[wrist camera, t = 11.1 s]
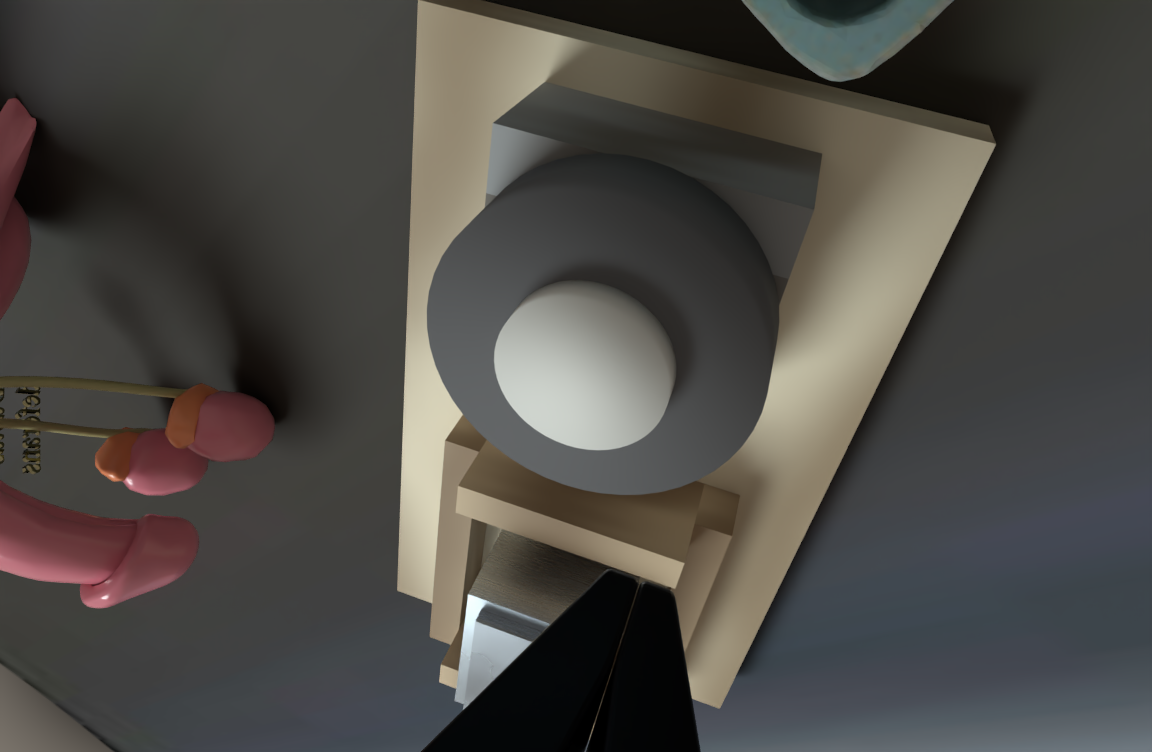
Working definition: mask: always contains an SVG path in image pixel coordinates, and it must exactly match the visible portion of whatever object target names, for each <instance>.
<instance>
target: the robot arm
mask: <svg viewBox="0 0 1152 752" xmlns="http://www.w3.org/2000/svg"><path fill="white" fill-rule="evenodd" d="M638 586H639V588H638ZM637 589H638V591H637ZM636 592H637V594H636ZM635 595H636V597H635ZM634 598H635V600H634ZM633 602H634V603H633ZM632 605H633V606H632ZM631 608H632V609H631ZM630 611H631V612H630ZM629 614H630V616H629ZM628 617H629V619H628ZM627 620H628V622H627ZM626 623H627V625H626ZM625 626H626V628H625ZM624 630H625V631H624ZM623 633H624V634H623ZM622 636H623V637H622ZM621 639H622V640H621ZM620 642H621V644H620ZM619 645H620V647H619ZM618 648H619V650H618ZM617 651H618V653H617ZM616 654H617V656H616ZM615 658H616V659H615ZM614 661H615V662H614ZM613 664H614V665H613ZM612 667H613V668H612ZM611 670H612V672H611ZM610 673H611V675H610ZM609 676H610V678H609ZM608 679H609V681H608ZM607 682H608V684H607ZM606 686H607V687H606ZM605 689H606V690H605ZM604 692H605V693H604ZM603 695H604V696H603ZM602 698H603V699H602ZM601 701H602V703H601ZM600 704H601V706H600ZM599 707H600V709H599ZM598 710H599V712H598ZM597 713H598V715H597ZM596 717H597V718H596ZM595 720H596V721H595ZM594 723H595V724H594ZM593 726H594V727H593ZM592 729H593V731H592ZM591 732H592V734H591ZM590 735H591V737H590ZM589 738H590V740H589ZM588 741H589V744H588ZM587 744H588V747H587ZM586 747H587V751H586V752H701V751H700V745H699V739H698V733H697V726H696V720H695V714H694V708H693V702H692V696H691V690H690V683H689V677H688V671H687V665H686V659H685V653H684V647H683V640H682V634H681V628H680V622H679V616H678V610H677V604H676V598H675V595H674V593H673V592H672V591H671V590H670V589H667V588H664V587H662V586H659V585H656V584H653V583H650V582H648V581H644V582H642V583H640V585H639V581H638V580H637V578H636V577H634V576H631V575H628V574H625V573H623V572H620V571H617V570H614V569H607V570H605V571H604V572H603V573H602V574H601V575H600V576H599V577H598V578H597V579H596V580H595V581H594V582H593V583H591V584H590V585H589V586H588V587H587V588H586V589H585V590H584V591H583V592H582V593H581V594H580V595H579V596H578V597H577V598H576V599H575V600H574V601H573V602H572V603H571V604H570V605H569V606H568V607H567V608H566V609H565V610H564V611H563V612H562V613H561V614H560V615H559V616H558V617H557V618H556V619H555V620H554V621H553V622H552V623H551V624H550V625H549V626H548V627H547V628H546V629H545V630H544V631H543V632H542V633H541V634H540V635H539V636H538V637H537V638H536V639H535V640H534V641H533V642H532V643H531V644H530V645H529V646H528V647H527V648H526V649H525V650H524V651H523V652H522V653H521V654H520V655H518V656H517V657H516V658H515V659H514V660H513V661H512V662H511V663H510V664H509V665H508V666H507V667H506V668H505V669H504V670H503V671H502V672H501V673H500V674H499V675H498V676H497V677H496V678H495V679H494V680H493V681H492V682H491V683H490V684H489V685H488V686H487V687H486V688H485V689H484V690H483V691H482V692H481V693H480V694H479V695H478V696H477V697H476V698H475V699H474V700H473V701H472V702H471V703H470V704H469V705H468V706H467V707H466V708H465V709H464V710H463V711H462V712H461V713H460V714H459V715H458V716H457V717H456V718H455V719H454V720H453V721H452V722H451V723H450V724H449V725H448V726H447V727H445V728H444V729H443V730H442V731H441V732H440V733H439V734H438V735H437V736H436V737H435V738H434V739H433V740H432V741H431V742H430V743H429V744H428V745H427V746H426V747H425V748H424V749H423V750H422V751H421V752H585V749H586Z"/></svg>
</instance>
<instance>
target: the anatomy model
mask: <svg viewBox="0 0 1152 752" xmlns="http://www.w3.org/2000/svg"><path fill="white" fill-rule="evenodd" d="M36 124H37V123H36V119H35V118H32V117H31V116H30V114H29V113H28V112H27V110H26V109H25V107H24V106H23V105H22V104H21V103H20V101H19V100H18V99H17V98H12V99H8V101H7V102H6V104H5V105H4V107H3V109H2V110H1V112H0V320H1V319H2V317H3V316H4V314H5V312H6V311H7V309H8V308H9V306H10V304H11V303H12V301H13V299H14V297H15V295H16V293H17V292H18V290H19V288H20V285H21V283H22V281H23V278H24V275H25V272H26V269H27V266H28V263H29V257H30V248H31V234H30V227H29V221H28V217H27V216H26V214H25V212H24V210H23V208H22V207H21V205H20V204H19V202H18V201H17V199H16V198H15V197H14V194H15V192H16V189H17V187H18V185H19V182H20V179H21V176H22V174H23V171H24V168H25V166H26V163H27V159H28V156H29V152H30V149H31V145H32V141H33V138H34V134H35V130H36ZM4 387H19V388H18V389H17V390H16V392H15V393H21V394H32V395H30V396H27V397H26V398H24V399H23V405H24V406H26V407H25V408H23V409H21V410H19V411H18V412H16V414H15V417H16V419H3V417H4V415H2V414H3V413H4V411H5V410H4V409H3V408H1V407H0V430H2V429H3V428H11V429H24V431H23V433H25V434H24V435H23V438H26V437H28V436H29V435H28V433H30V434H36V435H37V436H38V435H40V431H47V432H56V433H64V434H72V435H81V436H92V437H104V438H108V439H107V440H106V442H105V443H104V444H103V445H102V446H101V448H100V449H99V450H98V451H97V453H96V454H95V466H96V467H97V468H98V469H99V471H100V472H101V473H102V474H103V475H105V476H106V477H108V478H109V479H110V480H112V481H113V482H115V481H123V482H124V483H125V485H126V486H127V487H128V488H129V489H130V490H133V491H136V492H139V493H142V494H145V495H166V494H171V493H175V492H179V491H183V490H187V489H189V488H191V487H192V486H194V485H196V484H197V483H199V481H200V480H201V478H202V477H203V475H204V474H205V472H206V471H207V468H208V459H209V460H211V461H219V462H229V461H239V460H247V459H250V458H253V457H256V456H257V455H258V454H259V453H260V452H261V451H262V450H263V449H264V448H265V447H266V446H267V445H268V444H269V443H270V442H271V441H272V439H273V435H274V431H275V422H274V417H273V416H272V414H271V412H270V411H269V409H268V407H267V406H266V405H265V404H264V403H262V402H261V401H259V400H258V399H256V398H255V397H252V396H249V395H246V394H243V393H239V392H227V391H218V390H217V389H215V388H212V387H210V386H208V385H205V384H203V383H201V384H198V385H195V386H193V387H191V388H189V389H176V388H166V387H158V386H149V385H141V384H132V383H123V382H114V381H105V380H94V379H82V378H66V377H41V376H3V377H0V402H1V401H2V400H3V398H4ZM20 387H23V389H20ZM27 387H34V388H35V389H36V391H35V390H28V389H27ZM40 387H53V388H76V389H90V390H102V391H113V392H122V393H132V394H141V395H150V396H159V397H169V398H175V400H174V402H173V405H172V407H171V410H170V414H169V418H168V422H167V426H166V429H165V428H161V429H147V428H137V429H133V428H127V427H125V428H123V429H102V428H92V427H82V426H74V425H66V424H59V423H51V422H42V421H40V419H39V418H37V417H38V416H39V415H40V408H38V409H37V410H31V409H27V407H29V406H31V400H33V401H34V402H35V405H34V406H33V407H35V406H37V405H38V404H40V398H39V397H37V396H38V395H39V393H40V391H39V390H40ZM34 395H36V396H34ZM19 413H23V416H25V415H27V413H28V414H36V415H37V417H35V416H30V417H28V418H26V419H24V420H21V419H19V418H21V417H22V415H20V414H19ZM3 438H4V435H3V434H0V440H1V439H3ZM29 440H30V438H27V439H25V440H24V441H23V447H24V448H35V450H37V449H39V448H40V445H38V444H39V443H40V439H39V438H34V439H32V440H31V441H30V442H29V444H27V443H26V442H27V441H29ZM33 442H35V443H36V444H32V443H33ZM3 447H4V443H3V442H0V464H2V463H3V462H4V455H1V454H2V453H3V451H4V449H2V448H3ZM23 455H25V456H24V457H23V461H24V462H36V463H37V464H35V465H32V464H27V465H25V466H24V467H23V469H22V470H23V473H29V472H30V473H31V474H36V473H38V472H39V471H40V470H41V467H40V464H39V463H40V457H38V456H40V449H39V450H38V451H28V449H26V450H24V452H23ZM28 455H36V456H37V457H38V458H28V457H27V456H28ZM33 466H34V467H35V468H36V469H37V470H35V468H34V467H33ZM26 467H27V468H28V470H29V471H28V470H27V469H26ZM198 548H199V535H198V532H197V530H196V528H195V527H194V526H193V525H192V524H191V522H189V521H187V520H186V519H183V518H180V517H171V516H159V515H154V514H147V515H145V516H143V517H142V518H140V519H115V518H106V517H99V516H93V515H90V514H86V513H82V512H78V511H74V510H70V509H66V508H62V507H59V506H56V505H53V504H49V503H46V502H43V501H40V500H38V499H36V498H34V497H31V496H29V495H27V494H25V493H23V492H21V491H18V490H16V489H14V488H12V487H10V486H8V485H7V484H5V483H4V482H3V481H1V480H0V570H2V571H6V572H9V573H12V574H16V575H19V576H22V577H26V578H30V579H34V580H39V581H48V582H62V583H80V584H81V586H80V596H81V599H82V601H83V603H84V604H86V605H87V606H88V607H93V608H107V607H110V606H113V605H116V604H118V603H120V602H123V601H125V600H127V599H130V598H132V597H135V596H138V595H141V594H143V593H146V592H149V591H151V590H154V589H157V588H160V587H162V586H165V585H167V584H169V583H171V582H173V581H174V580H176V579H177V578H179V577H180V576H181V575H182V574H184V573H185V572H186V571H187V569H188V568H189V567H190V565H191V564H192V563H193V561H194V559H195V557H196V555H197V552H198Z"/></svg>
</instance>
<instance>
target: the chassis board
mask: <svg viewBox="0 0 1152 752" xmlns="http://www.w3.org/2000/svg"><path fill="white" fill-rule="evenodd" d="M995 145H996V142H995V140H994V137H993V135H992V132H991V130H990V127H989V125H985V124H981V123H977V122H973V121H969V120H965V119H961V118H957V117H953V116H949V115H945V114H941V113H937V112H933V111H929V110H925V109H921V108H917V107H912V106H908V105H904V104H900V103H896V102H892V101H888V100H884V99H880V98H876V97H872V96H868V95H864V94H860V93H856V92H852V91H848V90H844V89H840V88H835V87H831V86H827V85H823V84H819V83H815V82H811V81H807V80H803V79H799V78H795V77H791V76H787V75H783V74H779V73H775V72H771V71H767V70H763V69H758V68H754V67H750V66H746V65H742V64H738V63H734V62H730V61H726V60H722V59H718V58H714V57H710V56H706V55H702V54H698V53H694V52H690V51H686V50H681V49H677V48H673V47H669V46H665V45H661V44H657V43H653V42H649V41H645V40H641V39H637V38H633V37H629V36H625V35H621V34H617V33H613V32H609V31H604V30H600V29H596V28H592V27H588V26H584V25H580V24H576V23H572V22H568V21H564V20H560V19H556V18H552V17H548V16H544V15H540V14H536V13H532V12H527V11H523V10H519V9H515V8H511V7H507V6H503V5H499V4H495V3H491V2H487V1H483V0H418V18H417V47H416V75H415V104H414V132H413V161H412V189H411V217H410V246H409V274H408V303H407V331H406V360H405V388H404V417H403V445H402V474H401V502H400V531H399V559H398V588H397V591H400V592H403V593H405V594H408V595H411V596H414V597H416V598H419V599H422V600H425V601H427V602H430V603H432V613H431V626H430V637H432V638H434V639H437V640H440V641H442V642H445V643H448V644H450V645H451V646H450V648H449V650H448V652H447V654H446V656H445V658H444V659H443V661H442V663H441V669H440V680H439V682H440V683H443V684H446V685H448V686H451V687H453V688H456V687H457V679H458V671H459V663H460V655H461V647H462V639H463V631H464V623H465V615H466V607H467V600H468V593H469V592H470V590H471V588H472V586H473V584H474V582H475V580H476V578H477V576H478V574H479V572H480V570H481V569H482V567H483V565H484V563H485V561H486V559H487V557H488V555H489V553H490V551H491V549H492V548H493V546H494V544H495V542H496V540H497V538H498V536H499V534H500V532H501V530H502V529H504V530H507V531H510V532H513V533H516V534H519V535H522V536H524V537H527V538H530V539H533V540H536V541H539V542H542V543H545V544H547V545H550V546H553V547H556V548H559V549H562V550H565V551H568V552H570V553H573V554H576V555H579V556H582V557H585V558H588V559H591V560H593V561H596V562H599V563H602V564H605V565H608V566H611V567H614V568H617V569H619V570H622V571H625V572H628V573H631V574H634V575H637V576H640V579H639V585H640V583H642V582H644V581H648V582H650V583H653V584H656V585H659V586H662V587H664V588H667V589H670V590H671V591H672V592H673V593H674V595H675V598H676V604H677V610H678V616H679V622H680V628H681V634H682V640H683V647H684V653H685V659H686V665H687V671H688V677H689V683H690V690H691V696H692V699H695V700H697V701H700V702H703V703H705V704H708V705H711V706H714V707H716V708H719V709H720V707H721V705H722V703H723V701H724V699H725V697H726V695H727V693H728V691H729V689H730V687H731V685H732V682H733V680H734V678H735V676H736V674H737V672H738V670H739V668H740V666H741V664H742V662H743V660H744V658H745V656H746V654H747V652H748V650H749V648H750V646H751V644H752V642H753V640H754V638H755V636H756V633H757V631H758V629H759V627H760V625H761V623H762V621H763V619H764V617H765V615H766V613H767V611H768V609H769V607H770V605H771V603H772V601H773V599H774V597H775V595H776V593H777V591H778V589H779V587H780V584H781V582H782V580H783V578H784V576H785V574H786V572H787V570H788V568H789V566H790V564H791V562H792V560H793V558H794V556H795V554H796V552H797V550H798V548H799V546H800V544H801V542H802V540H803V537H804V535H805V533H806V531H807V529H808V527H809V525H810V523H811V521H812V519H813V517H814V515H815V513H816V511H817V509H818V507H819V505H820V503H821V501H822V499H823V497H824V495H825V493H826V491H827V488H828V486H829V484H830V482H831V480H832V478H833V476H834V474H835V472H836V470H837V468H838V466H839V464H840V462H841V460H842V458H843V456H844V454H845V452H846V450H847V448H848V446H849V444H850V442H851V439H852V437H853V435H854V433H855V431H856V429H857V427H858V425H859V423H860V421H861V419H862V417H863V415H864V413H865V411H866V409H867V407H868V405H869V403H870V401H871V399H872V397H873V395H874V393H875V390H876V388H877V386H878V384H879V382H880V380H881V378H882V376H883V374H884V372H885V370H886V368H887V366H888V364H889V362H890V360H891V358H892V356H893V354H894V352H895V350H896V348H897V346H898V343H899V341H900V339H901V337H902V335H903V333H904V331H905V329H906V327H907V325H908V323H909V321H910V319H911V317H912V315H913V313H914V311H915V309H916V307H917V305H918V303H919V301H920V299H921V297H922V294H923V292H924V290H925V288H926V286H927V284H928V282H929V280H930V278H931V276H932V274H933V272H934V270H935V268H936V266H937V264H938V262H939V260H940V258H941V256H942V254H943V252H944V250H945V248H946V245H947V243H948V241H949V239H950V237H951V235H952V233H953V231H954V229H955V227H956V225H957V223H958V221H959V219H960V217H961V215H962V213H963V211H964V209H965V207H966V205H967V203H968V201H969V199H970V196H971V194H972V192H973V190H974V188H975V186H976V184H977V182H978V180H979V178H980V176H981V174H982V172H983V170H984V168H985V166H986V164H987V162H988V160H989V158H990V156H991V154H992V152H993V149H994V147H995ZM597 153H606V154H621V155H628V156H633V157H638V158H643V159H648V160H651V161H654V162H657V163H660V164H663V165H666V166H669V167H671V168H673V169H675V170H677V171H679V172H682V173H684V174H686V175H688V176H690V177H692V178H693V179H695V180H696V181H698V182H699V183H701V184H703V185H704V186H706V187H707V188H709V189H710V190H712V191H713V192H714V193H715V194H716V195H718V196H719V197H720V198H721V199H722V200H724V201H725V202H726V203H727V204H728V205H729V206H730V207H731V208H732V209H733V210H734V211H735V212H736V213H737V214H738V215H739V217H740V218H741V219H742V220H743V221H744V222H745V223H746V225H747V226H748V227H749V229H750V230H751V232H752V233H753V235H754V236H755V238H756V239H757V241H758V242H759V244H760V246H761V248H762V250H763V252H764V254H765V256H766V258H767V260H768V262H769V265H770V268H771V271H772V274H773V277H774V280H775V283H776V289H777V294H778V300H779V330H778V337H777V344H776V350H775V355H774V361H773V366H772V372H771V377H770V383H769V388H768V394H767V397H766V401H765V404H764V408H763V411H762V414H761V416H760V418H759V420H758V422H757V424H756V426H755V428H754V430H753V432H752V433H751V435H750V436H749V438H748V439H747V440H746V442H745V443H744V445H743V446H742V447H741V448H740V449H739V450H738V451H737V452H736V453H735V454H734V455H733V456H732V457H731V458H730V459H729V460H728V461H727V462H726V463H724V464H723V465H722V466H720V467H719V468H718V469H716V470H715V471H713V472H712V473H710V474H708V475H706V476H704V477H703V478H701V479H699V480H697V481H694V482H692V483H689V484H687V485H684V486H682V487H679V488H675V489H671V490H667V491H663V492H657V493H650V494H643V495H615V494H603V493H597V492H591V491H586V490H581V489H578V488H574V487H571V486H567V485H564V484H561V483H558V482H556V481H553V480H551V479H548V478H545V477H543V476H541V475H539V474H537V473H535V472H533V471H531V470H529V469H527V468H525V467H524V466H522V465H520V464H519V463H517V462H516V461H514V460H512V459H511V458H509V457H508V456H506V455H505V454H504V453H502V452H501V451H500V450H499V449H497V448H496V447H495V446H493V445H492V444H491V443H490V442H489V441H488V440H487V439H486V438H484V437H483V436H482V435H481V434H480V433H479V432H478V431H477V430H476V429H475V428H474V427H473V425H472V424H471V423H470V422H469V421H468V420H467V419H466V418H465V416H464V415H463V414H462V412H461V411H460V410H459V408H458V407H457V405H456V404H455V403H454V401H453V400H452V398H451V396H450V395H449V393H448V391H447V389H446V388H445V386H444V384H443V382H442V380H441V377H440V375H439V373H438V370H437V368H436V366H435V362H434V359H433V356H432V352H431V349H430V344H429V338H428V331H427V303H428V295H429V289H430V286H431V282H432V279H433V275H434V272H435V270H436V268H437V266H438V264H439V262H440V260H441V257H442V255H443V254H444V253H445V251H446V250H447V248H448V247H449V245H450V244H451V242H452V241H453V240H454V238H455V237H456V236H457V235H458V234H459V233H460V232H461V231H462V230H463V229H464V228H465V227H466V226H467V225H468V224H469V223H470V222H471V221H472V220H473V219H474V218H475V217H476V216H477V215H478V214H479V213H480V212H481V211H482V210H483V209H484V208H485V207H486V206H487V205H488V204H489V203H490V202H491V201H492V200H493V199H494V198H495V197H496V196H497V195H498V194H499V193H500V192H501V191H502V190H503V189H504V188H505V187H507V186H508V185H509V184H511V183H512V182H513V181H514V180H516V179H517V178H518V177H520V176H521V175H523V174H525V173H527V172H529V171H531V170H532V169H534V168H536V167H538V166H540V165H543V164H546V163H549V162H551V161H554V160H557V159H561V158H566V157H571V156H575V155H582V154H597ZM638 588H639V586H638ZM637 591H638V589H637ZM636 594H637V592H636ZM635 597H636V595H635ZM634 600H635V598H634ZM633 603H634V602H633ZM632 606H633V605H632ZM631 609H632V608H631ZM630 612H631V611H630ZM629 616H630V614H629ZM628 619H629V617H628ZM627 622H628V620H627ZM626 625H627V623H626ZM625 628H626V626H625ZM624 631H625V630H624ZM623 634H624V633H623ZM622 637H623V636H622ZM621 640H622V639H621ZM620 644H621V642H620ZM619 647H620V645H619ZM618 650H619V648H618ZM617 653H618V651H617ZM616 656H617V654H616ZM615 659H616V658H615ZM614 662H615V661H614ZM613 665H614V664H613ZM612 668H613V667H612ZM611 672H612V670H611ZM610 675H611V673H610ZM609 678H610V676H609ZM608 681H609V679H608ZM607 684H608V682H607ZM606 687H607V686H606ZM605 690H606V689H605ZM604 693H605V692H604ZM603 696H604V695H603ZM602 699H603V698H602ZM601 703H602V701H601ZM600 706H601V704H600ZM599 709H600V707H599ZM598 712H599V710H598ZM597 715H598V713H597ZM596 718H597V717H596ZM595 721H596V720H595ZM594 724H595V723H594ZM593 727H594V726H593ZM592 731H593V729H592ZM591 734H592V732H591ZM590 737H591V735H590ZM589 739H590V738H589Z"/></svg>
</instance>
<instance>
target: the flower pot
mask: <svg viewBox="0 0 1152 752" xmlns="http://www.w3.org/2000/svg"><path fill="white" fill-rule="evenodd" d="M742 1H743V3H744V4H745V5H746V6H747V7H748V8H749V10H750V11H751V12H752V13H753V14H754V16H755V17H756V18H757V19H758V20H759V21H760V22H761V23H762V24H763V25H764V26H765V27H766V28H767V29H768V31H769V32H770V33H771V34H772V35H773V36H774V37H775V39H776V40H777V41H778V42H779V43H780V44H781V45H782V47H783V48H784V49H785V50H786V51H787V52H788V53H790V54H791V55H792V56H793V57H794V58H796V59H797V60H798V61H799V62H800V63H802V64H803V65H804V66H806V67H807V68H808V69H810V70H811V71H813V72H814V73H816V74H817V75H819V76H820V77H823V78H825V79H827V80H830V81H838V82H843V81H847V80H852V79H856V78H860V77H862V76H865V75H867V74H868V73H870V72H871V71H873V70H874V69H875V68H877V67H878V66H879V65H881V64H882V63H883V62H885V61H886V60H888V59H889V58H891V57H892V56H893V55H895V54H896V53H897V52H898V51H899V50H901V49H902V48H903V47H904V46H905V45H906V44H908V43H909V42H910V41H911V40H912V39H913V38H914V37H916V36H917V35H918V34H919V33H921V32H922V31H923V30H924V29H925V28H926V27H927V26H928V25H929V24H930V23H931V22H932V21H933V20H934V19H935V18H936V17H937V16H938V15H939V14H940V13H941V12H942V11H943V10H944V9H945V8H946V7H947V6H949V5H950V4H951V3H952V2H953V1H954V0H742Z"/></svg>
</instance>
